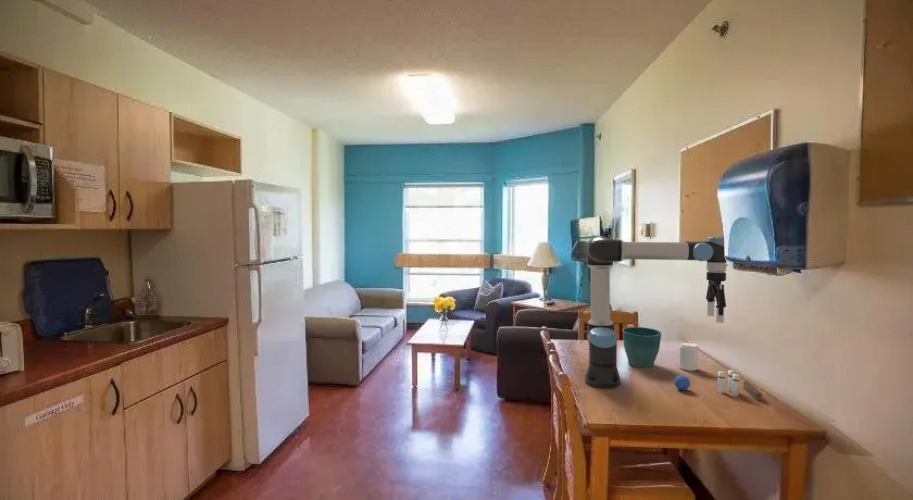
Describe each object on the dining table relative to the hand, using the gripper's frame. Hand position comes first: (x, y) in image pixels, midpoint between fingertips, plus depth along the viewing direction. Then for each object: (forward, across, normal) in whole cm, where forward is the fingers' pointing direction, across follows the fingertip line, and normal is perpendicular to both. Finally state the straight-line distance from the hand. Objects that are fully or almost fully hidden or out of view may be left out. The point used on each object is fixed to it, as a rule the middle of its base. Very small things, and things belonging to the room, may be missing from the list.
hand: (715, 319), depth 198 cm
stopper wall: (+28, -15, -10) cm, 33 cm away
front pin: (+28, -15, +1) cm, 31 cm away
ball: (+25, -16, +16) cm, 33 cm away
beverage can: (+28, +15, +7) cm, 32 cm away
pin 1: (+28, -12, -3) cm, 30 cm away
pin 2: (+28, -18, -3) cm, 33 cm away
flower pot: (+28, +16, +28) cm, 43 cm away
